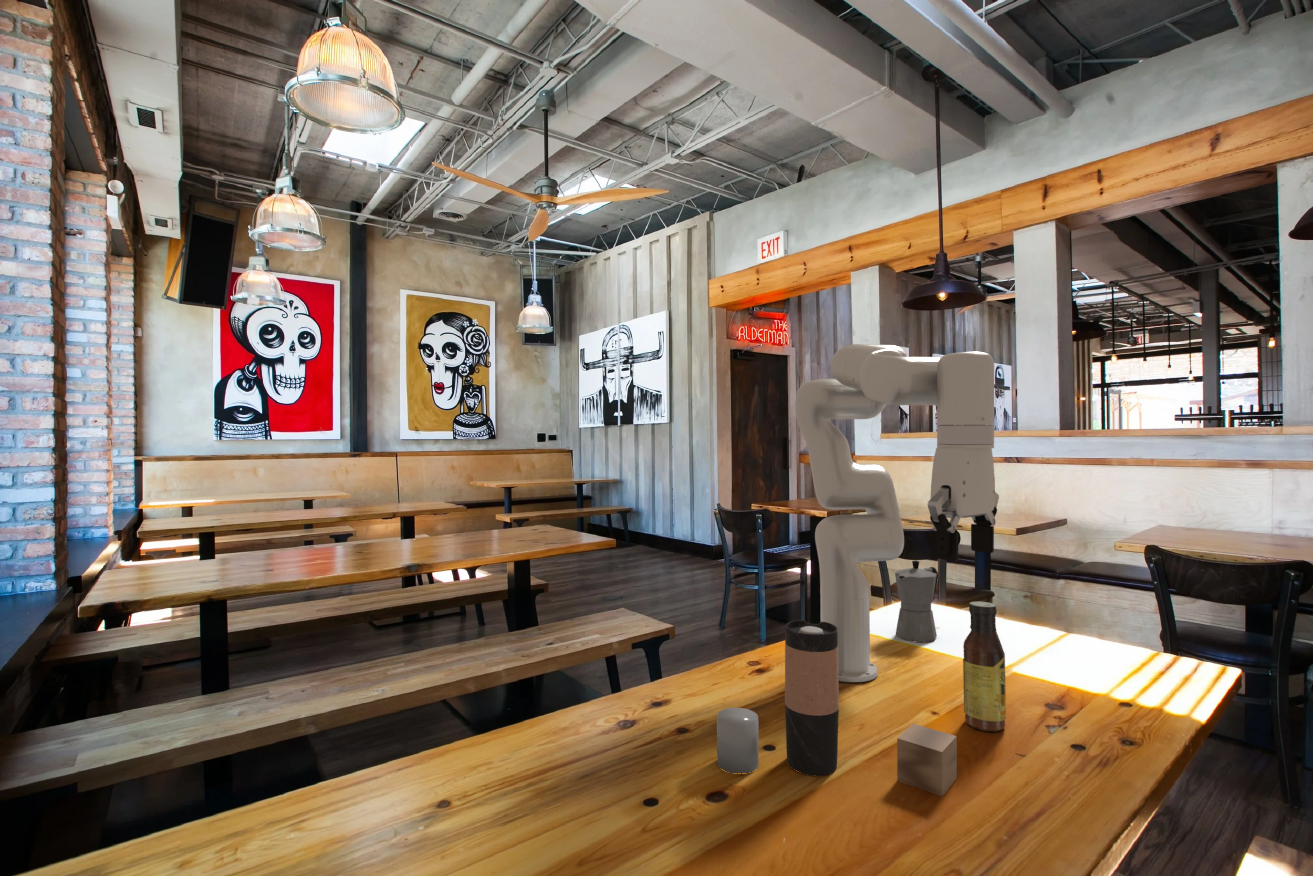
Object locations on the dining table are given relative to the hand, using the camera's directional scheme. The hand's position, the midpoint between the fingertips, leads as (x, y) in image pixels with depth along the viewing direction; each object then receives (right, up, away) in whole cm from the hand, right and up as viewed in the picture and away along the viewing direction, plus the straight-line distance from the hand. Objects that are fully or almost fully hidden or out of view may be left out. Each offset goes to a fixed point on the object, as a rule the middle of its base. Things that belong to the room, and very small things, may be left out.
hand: (964, 555), depth 95 cm
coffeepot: (+17, -30, +60) cm, 69 cm away
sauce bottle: (+9, -30, +12) cm, 34 cm away
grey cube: (-7, -31, -4) cm, 32 cm away
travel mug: (-22, -31, 0) cm, 38 cm away
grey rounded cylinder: (-33, -31, 0) cm, 45 cm away
